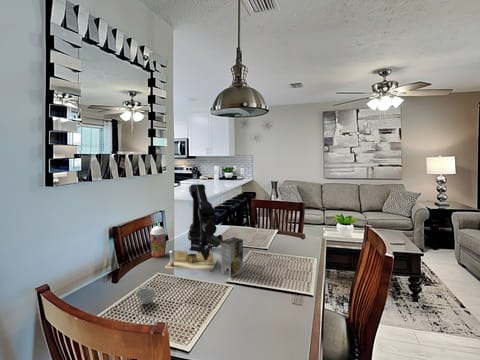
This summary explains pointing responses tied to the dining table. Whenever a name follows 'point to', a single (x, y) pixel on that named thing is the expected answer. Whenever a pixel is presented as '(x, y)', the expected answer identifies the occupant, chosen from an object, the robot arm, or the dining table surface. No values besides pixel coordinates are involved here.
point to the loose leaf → (200, 258)
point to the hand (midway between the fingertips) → (205, 260)
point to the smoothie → (157, 241)
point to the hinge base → (185, 256)
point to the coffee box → (231, 257)
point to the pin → (171, 257)
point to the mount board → (193, 265)
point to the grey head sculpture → (145, 294)
